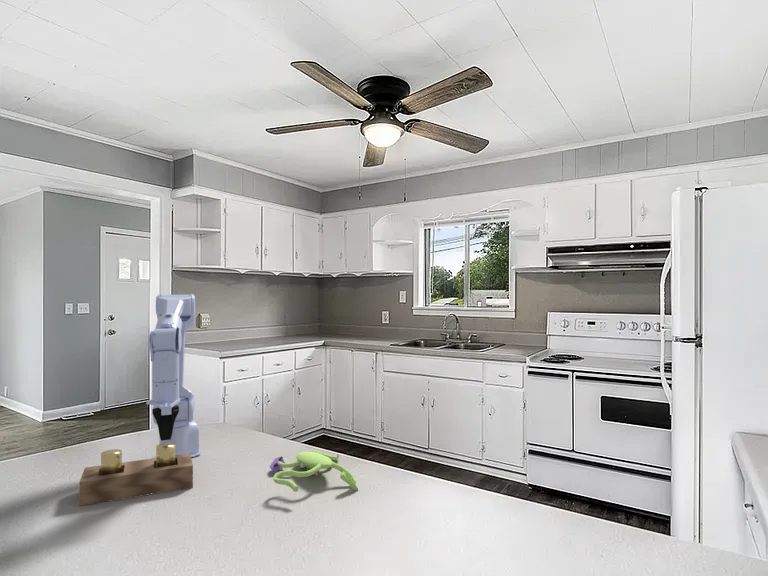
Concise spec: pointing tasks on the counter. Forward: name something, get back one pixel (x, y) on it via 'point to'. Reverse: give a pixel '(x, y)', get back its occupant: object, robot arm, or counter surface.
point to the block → (135, 480)
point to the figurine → (310, 460)
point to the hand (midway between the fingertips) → (165, 439)
